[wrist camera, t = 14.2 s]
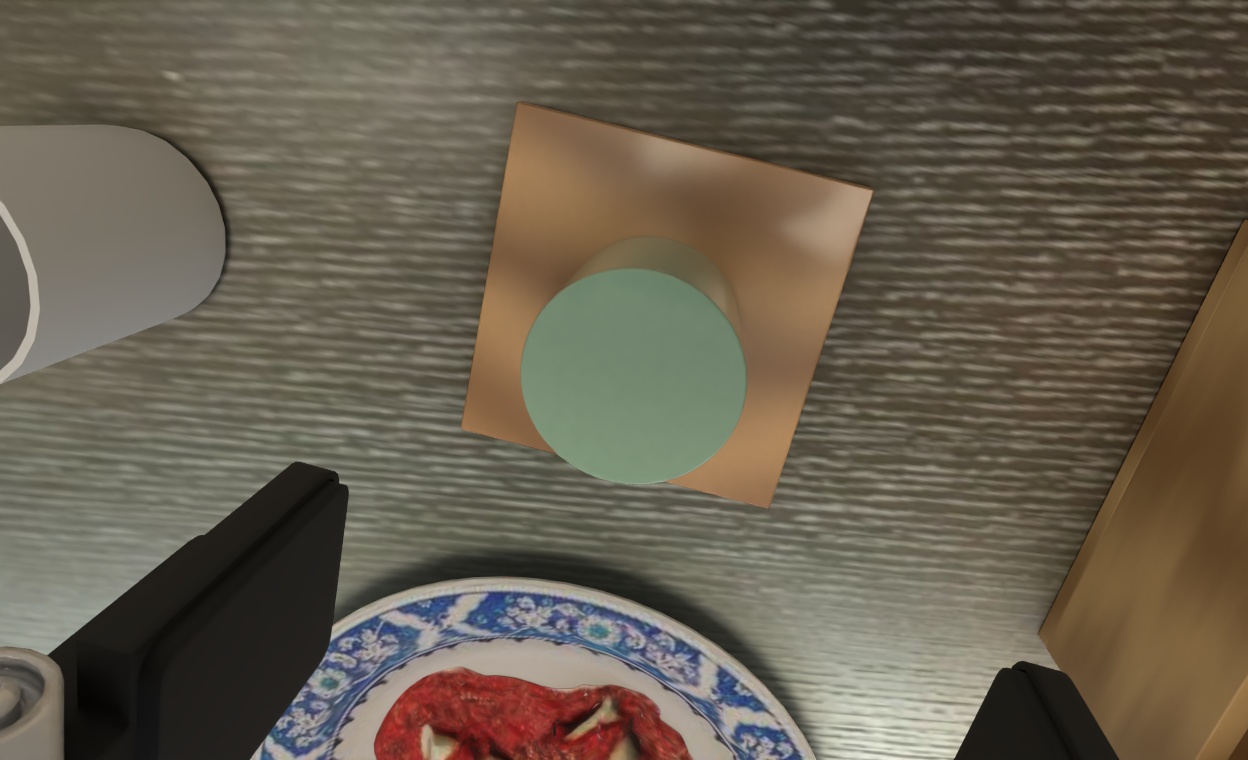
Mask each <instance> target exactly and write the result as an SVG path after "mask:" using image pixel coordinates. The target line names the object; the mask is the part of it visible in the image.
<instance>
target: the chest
mask: <svg viewBox="0 0 1248 760" xmlns="http://www.w3.org/2000/svg"><path fill="white" fill-rule="evenodd" d="M1039 637H1040V638H1041V640H1042V641H1043V643H1044V645H1045V646H1046V647H1047V650H1048V651H1049V653H1050V655H1051V656H1052V658H1053V659H1054V661H1055V663H1056V664H1057V666H1058V667H1059V669H1060V671H1061V672H1064V673H1066V674H1067V675H1068V676H1069V677H1070V678H1071V679H1072V681H1073V683H1074V684H1075V686H1076V688H1077V689H1078V691H1079V693H1080V694H1081V696H1082V698H1083V699H1084V701H1085V703H1086V704H1087V706H1088V708H1089V709H1090V711H1091V713H1092V714H1093V716H1094V718H1095V719H1096V721H1097V723H1098V724H1099V726H1100V728H1101V729H1102V731H1103V733H1104V735H1105V736H1106V738H1107V740H1108V741H1109V743H1110V745H1111V746H1112V748H1113V750H1114V751H1115V753H1116V755H1117V756H1118V758H1119V760H1248V219H1246V220H1244V221H1243V223H1242V225H1241V227H1240V229H1239V231H1238V233H1237V235H1236V237H1235V239H1234V241H1233V243H1232V245H1231V247H1230V249H1229V251H1228V253H1227V255H1226V257H1225V259H1224V261H1223V263H1222V265H1221V267H1220V269H1219V272H1218V274H1217V276H1216V278H1215V280H1214V282H1213V284H1212V286H1211V288H1210V290H1209V292H1208V294H1207V296H1206V298H1205V300H1204V302H1203V304H1202V306H1201V308H1200V310H1199V312H1198V314H1197V316H1196V318H1195V320H1194V322H1193V324H1192V326H1191V328H1190V330H1189V332H1188V334H1187V336H1186V338H1185V340H1184V342H1183V344H1182V346H1181V348H1180V350H1179V352H1178V354H1177V356H1176V358H1175V360H1174V362H1173V364H1172V366H1171V368H1170V370H1169V372H1168V374H1167V376H1166V378H1165V380H1164V382H1163V384H1162V386H1161V388H1160V390H1159V392H1158V394H1157V396H1156V398H1155V400H1154V402H1153V404H1152V406H1151V408H1150V411H1149V413H1148V415H1147V417H1146V419H1145V421H1144V423H1143V425H1142V427H1141V429H1140V431H1139V433H1138V435H1137V437H1136V439H1135V441H1134V443H1133V445H1132V447H1131V449H1130V451H1129V453H1128V455H1127V457H1126V459H1125V461H1124V463H1123V465H1122V467H1121V469H1120V471H1119V473H1118V475H1117V477H1116V479H1115V481H1114V483H1113V485H1112V487H1111V489H1110V491H1109V493H1108V495H1107V497H1106V499H1105V501H1104V503H1103V505H1102V507H1101V509H1100V511H1099V513H1098V515H1097V517H1096V519H1095V521H1094V523H1093V525H1092V527H1091V529H1090V531H1089V533H1088V535H1087V537H1086V539H1085V541H1084V543H1083V545H1082V547H1081V549H1080V552H1079V554H1078V556H1077V558H1076V560H1075V562H1074V564H1073V566H1072V568H1071V570H1070V572H1069V574H1068V576H1067V578H1066V580H1065V582H1064V584H1063V586H1062V588H1061V590H1060V592H1059V594H1058V596H1057V598H1056V600H1055V602H1054V604H1053V606H1052V608H1051V610H1050V612H1049V614H1048V616H1047V618H1046V620H1045V622H1044V624H1043V626H1042V628H1041V630H1040V632H1039Z"/></svg>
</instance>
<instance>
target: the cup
mask: <svg viewBox="0 0 1248 760" xmlns="http://www.w3.org/2000/svg"><path fill="white" fill-rule="evenodd" d="M224 258H225V226H224V222H223V218H222V215H221V211H220V207H219V204H218V202H217V200H216V198H215V196H214V194H213V192H212V190H211V188H210V186H209V185H208V183H207V181H206V180H205V179H204V178H203V176H202V175H201V174H200V173H199V171H198V170H197V169H196V168H195V167H194V165H193V164H192V163H191V162H190V161H189V159H188V158H187V157H185V156H184V155H183V154H181V153H180V152H179V151H178V150H176V149H175V148H174V147H173V146H171V145H170V144H169V143H167V142H166V141H164V140H162V139H160V138H158V137H156V136H153V135H151V134H149V133H147V132H145V131H143V130H138V129H133V128H127V127H121V126H114V125H42V126H0V384H1V383H4V382H7V381H9V380H12V379H15V378H17V377H20V376H23V375H25V374H28V373H31V372H33V371H36V370H39V369H41V368H44V367H47V366H49V365H52V364H55V363H57V362H60V361H63V360H65V359H68V358H71V357H73V356H76V355H79V354H81V353H84V352H87V351H89V350H92V349H94V348H97V347H100V346H102V345H105V344H108V343H110V342H113V341H116V340H118V339H121V338H124V337H126V336H129V335H132V334H134V333H137V332H140V331H142V330H145V329H148V328H150V327H153V326H156V325H158V324H161V323H163V322H166V321H169V320H171V319H174V318H176V317H179V316H181V315H183V314H185V313H187V312H189V311H191V310H193V309H194V308H195V307H196V306H197V305H199V304H200V303H201V302H202V301H203V300H204V299H206V298H207V297H208V296H209V294H210V292H211V291H212V289H213V288H214V286H215V284H216V283H217V281H218V280H219V278H220V274H221V270H222V266H223V262H224Z"/></svg>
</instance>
